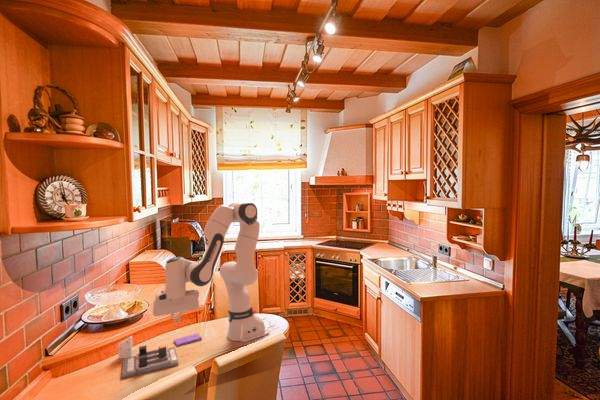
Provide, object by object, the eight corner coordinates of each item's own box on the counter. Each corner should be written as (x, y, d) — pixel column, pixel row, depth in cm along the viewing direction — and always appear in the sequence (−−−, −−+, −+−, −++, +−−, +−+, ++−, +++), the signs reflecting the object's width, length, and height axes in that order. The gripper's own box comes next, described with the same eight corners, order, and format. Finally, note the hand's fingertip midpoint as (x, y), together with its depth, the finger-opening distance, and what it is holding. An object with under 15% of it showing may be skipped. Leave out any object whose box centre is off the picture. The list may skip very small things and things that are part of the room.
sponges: (201, 340, 169) (201, 337, 169) (177, 347, 161) (177, 344, 161) (197, 336, 174) (197, 332, 174) (173, 342, 167) (173, 339, 167)
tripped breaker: (165, 354, 150) (165, 344, 150) (166, 357, 147) (166, 346, 147) (158, 356, 149) (158, 345, 149) (159, 359, 146) (158, 348, 146)
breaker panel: (174, 350, 158) (174, 338, 158) (178, 364, 143) (177, 351, 143) (123, 361, 148) (123, 348, 148) (122, 378, 134) (121, 364, 134)
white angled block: (140, 352, 151) (130, 337, 151) (121, 364, 151) (111, 348, 151) (143, 348, 155) (134, 333, 155) (125, 360, 155) (116, 344, 154)
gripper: (197, 287, 158) (198, 315, 158) (152, 294, 149) (153, 323, 149) (199, 290, 153) (200, 319, 153) (152, 297, 143) (153, 328, 143)
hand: (176, 321), depth 151 cm, fingers closed
